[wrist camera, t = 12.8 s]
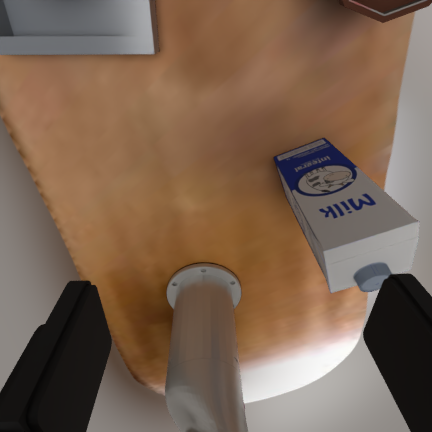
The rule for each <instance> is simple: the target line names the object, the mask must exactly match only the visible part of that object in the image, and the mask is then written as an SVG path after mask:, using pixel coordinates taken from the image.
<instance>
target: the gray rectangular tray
mask: <svg viewBox="0 0 432 432" xmlns="http://www.w3.org/2000/svg"><path fill="white" fill-rule="evenodd" d="M158 52H160V49H159V38H158V27H157V15H156V4H155V0H0V55H69V54H156V53H158Z"/></svg>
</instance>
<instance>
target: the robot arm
mask: <svg viewBox="0 0 432 432" xmlns="http://www.w3.org/2000/svg"><path fill="white" fill-rule="evenodd" d="M167 299H168V302H169V304H170V305H171V307H172V308H173V309H174V314H173V323H172V332H171V341H170V350H169V358H168V367H167V376H166V385H165V398H166V403H167V407H168V410H169V412H170V415H171V417H172V419H173V420H174V422H175V424H176V425H177V427H178V429H179V430H180V432H248V429H247V423H246V417H245V410H244V403H243V394H242V385H241V376H240V366H239V357H238V347H237V337H236V327H235V317H234V308H235V307H236V306H237V305H238V303H239V301H240V299H241V286H240V283H239V280H238V278H237V277H236V276H235V275H234V274H233V273H232V272H231V271H230V270H228V269H226V268H224V267H222V266H219V265H216V264H209V263H200V264H193V265H190V266H187V267H184V268H182V269H180V270H179V271H178V272H176V273H175V274H174V275H173V276H172V277H171V279H170V281H169V283H168V286H167ZM363 337H364V341H365V343H366V345H367V347H368V349H369V351H370V353H371V355H372V357H373V359H374V361H375V363H376V365H377V367H378V369H379V371H380V373H381V375H382V376H383V378H384V380H385V382H386V384H387V386H388V388H389V390H390V392H391V394H392V396H393V398H394V400H395V402H396V404H397V405H398V408H399V410H400V412H401V413H402V415H403V417H404V419H405V421H406V423H407V425H408V427H409V429H410V431H411V432H432V297H431V295H430V294H429V293H428V292H427V291H426V290H425V288H424V287H423V286H422V285H421V284H420V282H419V281H418V280H417V279H416V278H415V277H414V276H413V275H412V274H390V275H389V276H388V278H387V279H384V281H383V283H382V285H381V288H380V290H379V293H378V295H377V298H376V301H375V303H374V306H373V308H372V311H371V313H370V316H369V318H368V321H367V324H366V326H365V328H364V332H363ZM111 344H112V339H111V335H110V331H109V328H108V325H107V321H106V318H105V314H104V311H103V307H102V304H101V300H100V297H99V294H98V290H97V287H96V286H95V285H91V282H90V281H70V282H69V283H68V284H67V285H66V287H65V289H64V290H63V292H62V294H61V296H60V298H59V300H58V301H57V303H56V305H55V307H54V309H53V310H52V312H51V314H50V316H49V318H48V320H47V321H46V324H43V325H41V326H39V327H38V328H37V330H36V331H35V332H34V334H33V336H32V337H31V339H30V341H29V343H28V345H27V346H26V348H25V350H24V352H23V353H22V355H21V357H20V359H19V360H18V362H17V364H16V366H15V367H14V369H13V371H12V373H11V375H10V376H9V378H8V380H7V382H6V383H5V385H4V387H3V389H2V390H1V392H0V432H86V430H87V426H88V423H89V420H90V417H91V413H92V410H93V407H94V403H95V400H96V397H97V393H98V390H99V386H100V383H101V380H102V376H103V373H104V370H105V367H106V363H107V359H108V357H109V353H110V350H111Z"/></svg>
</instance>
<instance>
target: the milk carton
mask: <svg viewBox="0 0 432 432" xmlns="http://www.w3.org/2000/svg"><path fill="white" fill-rule="evenodd" d="M274 160H275V163H276V166H277V170H278V173H279V176H280V179H281V182H282V185H283V188H284V192H285V195H286V198H287V200H288V202H289V204H290V206H291V208H292V210H293V212H294V214H295V217H296V219H297V221H298V223H299V225H300V227H301V229H302V231H303V233H304V235H305V237H306V239H307V241H308V243H309V245H310V247H311V249H312V252H313V254H314V256H315V258H316V260H317V262H318V264H319V266H320V268H321V270H322V272H323V274H324V276H325V278H326V281H327V284H328V287H329V290H330V292H331V293H333V292H336V291H340V290H343V289H347V288H350V287H353V286H357V285H358V287H359V288H360V290H361V291H363V292H372V291H374V290H378V289H380V288H381V285H382V283H383V281H384V279H387V278H388V276H389V275H390V274H398V273H401V272H405V271H408V270H410V269H411V266H412V263H413V259H414V255H415V251H416V247H417V244H418V240H419V236H418V232H419V225H420V222H419V221H418V220H416V219H415V218H413V217H412V216H411V215H410V214H409V213H408V212H407V211H406V210H405V209H403V208H402V207H401V206H400V205H399V204H398V203H397V202H396V201H395V200H393V199H392V198H391V197H390V196H389V195H388V194H387V193H386V192H384V191H383V190H382V189H381V188H380V187H379V186H378V185H377V184H376V183H374V182H373V181H372V180H371V179H370V178H369V177H368V176H367V175H365V174H364V173H363V172H362V171H361V170H360V169H359V168H358V167H357V166H355V165H354V164H353V163H352V162H351V161H350V160H349V159H348V158H346V157H345V156H344V155H343V154H342V153H341V152H340V151H339V150H338V149H336V148H335V147H334V146H333V145H332V144H331V143H330V142H329V141H327V140H326V139H325V138H322V139H320V140H317V141H314V142H312V143H309V144H307V145H304V146H301V147H299V148H296V149H294V150H291V151H288V152H286V153H283V154H281V155H278V156H275V157H274Z"/></svg>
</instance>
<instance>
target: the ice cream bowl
mask: <svg viewBox="0 0 432 432" xmlns="http://www.w3.org/2000/svg"><path fill="white" fill-rule="evenodd" d="M339 3H340V5H342V6H344V7H347V8H349V9H351V10H354V11H356V12H359V13H361V14H363V15H366V16H368V17H370V18H373V19H375V20H377V21H380V22H382V23H384V22H386V21H389V20H392V19H395V18H397V17H400V16H403V15H406V14H408V13H411V12H414V11H417V10H419V9H422V8H425V7H427V6H429V5H430V4H431V3H432V0H339Z"/></svg>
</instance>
